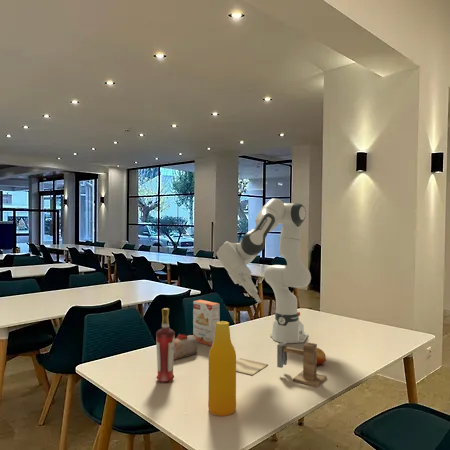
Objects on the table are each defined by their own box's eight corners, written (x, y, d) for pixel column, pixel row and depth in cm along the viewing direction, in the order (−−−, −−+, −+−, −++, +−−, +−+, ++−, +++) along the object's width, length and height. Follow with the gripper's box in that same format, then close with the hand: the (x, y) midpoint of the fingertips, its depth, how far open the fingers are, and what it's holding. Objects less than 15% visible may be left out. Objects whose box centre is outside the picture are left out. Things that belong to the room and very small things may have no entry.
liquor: (157, 376, 161) (158, 306, 161) (176, 376, 161) (176, 307, 160) (154, 383, 154) (154, 311, 153) (173, 384, 154) (173, 311, 153)
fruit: (310, 355, 183) (318, 342, 180) (323, 368, 178) (331, 355, 175) (299, 359, 177) (307, 346, 174) (312, 373, 172) (321, 359, 169)
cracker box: (192, 341, 208) (192, 300, 208) (200, 338, 213) (201, 299, 212) (211, 347, 199) (211, 304, 198) (220, 344, 203) (220, 303, 203)
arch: (282, 363, 168) (282, 341, 167) (286, 364, 167) (287, 342, 166) (277, 366, 163) (277, 344, 163) (281, 367, 162) (281, 345, 162)
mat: (240, 358, 182) (240, 358, 182) (267, 365, 174) (267, 364, 174) (223, 368, 170) (223, 367, 170) (252, 375, 162) (252, 374, 162)
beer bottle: (203, 413, 130) (204, 324, 130) (214, 401, 139) (214, 318, 139) (230, 418, 127) (230, 327, 127) (239, 406, 136) (240, 320, 135)
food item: (174, 361, 179) (174, 339, 179) (164, 356, 185) (164, 335, 185) (198, 354, 188) (199, 333, 188) (188, 350, 194) (188, 330, 194)
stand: (283, 368, 170) (283, 335, 170) (326, 378, 160) (326, 343, 160) (273, 376, 162) (273, 341, 162) (317, 387, 152) (317, 350, 151)
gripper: (245, 267, 166) (264, 295, 162) (249, 273, 185) (266, 298, 181) (232, 276, 165) (251, 304, 162) (237, 281, 185) (255, 306, 181)
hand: (259, 301), depth 172 cm, fingers open, 8 cm apart
